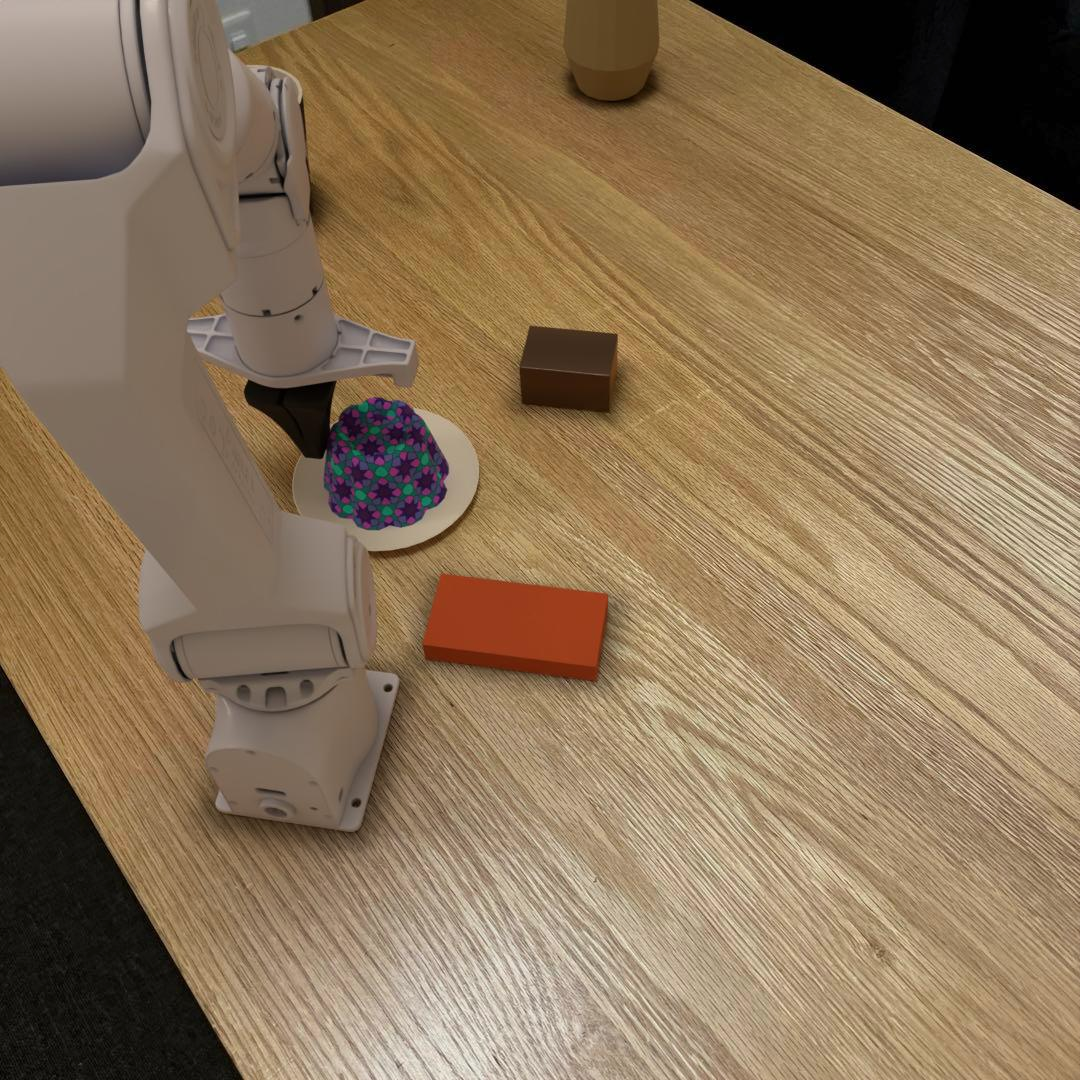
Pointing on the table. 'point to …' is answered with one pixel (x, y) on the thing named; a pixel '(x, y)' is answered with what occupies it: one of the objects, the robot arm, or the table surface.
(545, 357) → the walnut block
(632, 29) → the squeeze bottle
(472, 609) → the flat red block
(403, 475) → the pudding
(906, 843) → the table surface
